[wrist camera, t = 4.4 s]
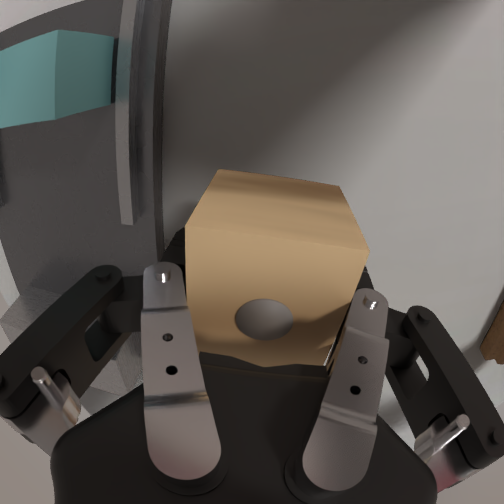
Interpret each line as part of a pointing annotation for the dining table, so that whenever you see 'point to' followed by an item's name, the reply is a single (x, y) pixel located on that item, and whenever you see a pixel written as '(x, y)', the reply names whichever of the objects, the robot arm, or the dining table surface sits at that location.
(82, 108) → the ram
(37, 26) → the frame
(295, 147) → the dining table surface
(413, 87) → the dining table surface
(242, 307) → the block
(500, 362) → the candle holder
